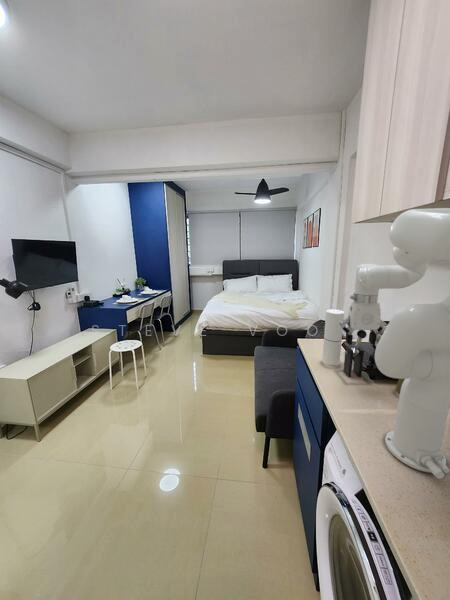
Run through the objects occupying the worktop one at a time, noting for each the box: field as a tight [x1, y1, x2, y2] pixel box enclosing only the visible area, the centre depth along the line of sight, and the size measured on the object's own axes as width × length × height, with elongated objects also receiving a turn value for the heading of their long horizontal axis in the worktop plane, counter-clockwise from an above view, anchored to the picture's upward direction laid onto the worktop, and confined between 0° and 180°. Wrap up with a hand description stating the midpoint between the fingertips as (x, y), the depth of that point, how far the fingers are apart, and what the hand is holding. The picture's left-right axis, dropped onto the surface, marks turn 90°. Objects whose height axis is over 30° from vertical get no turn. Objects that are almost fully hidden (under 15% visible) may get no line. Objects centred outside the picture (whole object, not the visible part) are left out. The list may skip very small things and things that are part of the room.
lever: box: [350, 330, 368, 358], centre depth 93 cm, size 13×3×3 cm
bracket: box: [342, 345, 365, 378], centre depth 97 cm, size 10×9×13 cm
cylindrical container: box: [321, 308, 345, 367], centre depth 106 cm, size 7×7×25 cm
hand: (360, 343), depth 91 cm, fingers open, 8 cm apart
